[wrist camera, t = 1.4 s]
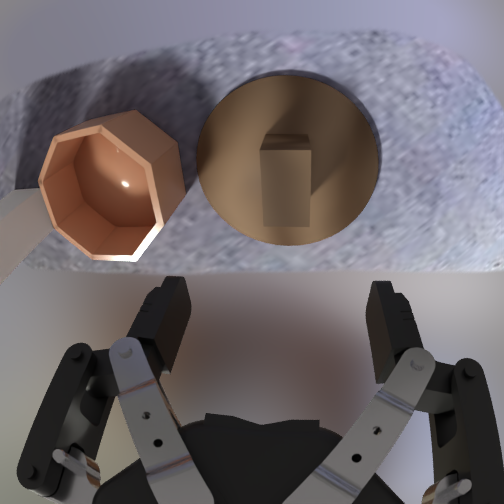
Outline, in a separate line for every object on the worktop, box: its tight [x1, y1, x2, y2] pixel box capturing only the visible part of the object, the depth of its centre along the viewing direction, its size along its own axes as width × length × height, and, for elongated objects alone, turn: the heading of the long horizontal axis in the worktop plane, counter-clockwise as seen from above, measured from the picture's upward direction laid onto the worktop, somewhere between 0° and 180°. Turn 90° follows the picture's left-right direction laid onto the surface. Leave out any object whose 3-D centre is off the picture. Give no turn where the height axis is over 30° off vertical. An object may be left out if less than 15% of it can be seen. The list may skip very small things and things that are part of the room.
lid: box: [196, 75, 378, 246], centre depth 24 cm, size 16×16×6 cm
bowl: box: [38, 110, 186, 261], centre depth 26 cm, size 13×13×6 cm
